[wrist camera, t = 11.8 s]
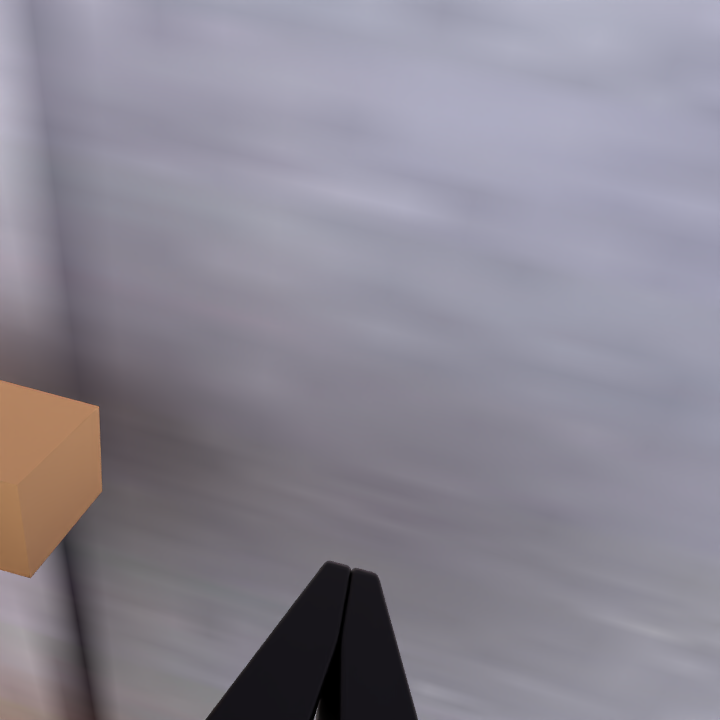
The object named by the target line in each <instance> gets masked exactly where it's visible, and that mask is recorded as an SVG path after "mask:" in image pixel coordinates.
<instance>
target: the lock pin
mask: <svg viewBox="0 0 720 720" xmlns="http://www.w3.org/2000/svg"><path fill="white" fill-rule="evenodd" d="M101 492H102V473H101V447H100V421H99V406H95V405H92V404H88V403H84V402H80V401H77V400H73V399H69V398H65V397H62V396H58V395H54V394H50V393H47V392H43V391H39V390H35V389H32V388H28V387H24V386H21V385H17V384H13V383H9V382H6V381H2V380H0V570H3V571H7V572H10V573H14V574H18V575H21V576H25V577H28V578H31V577H32V576H33V575H34V573H35V572H36V571H37V570H38V569H39V567H40V566H41V565H42V564H43V562H44V561H45V560H46V559H47V558H48V556H49V555H50V554H51V553H52V552H53V550H54V549H55V548H56V547H57V545H58V544H59V543H60V542H61V541H62V539H63V538H64V537H65V536H66V535H67V533H68V532H69V531H70V530H71V528H72V527H73V526H74V525H75V524H76V522H77V521H78V520H79V519H80V518H81V516H82V515H83V514H84V513H85V511H86V510H87V509H88V508H89V507H90V505H91V504H92V503H93V502H94V500H95V499H96V498H97V497H98V496H99V494H100V493H101Z"/></svg>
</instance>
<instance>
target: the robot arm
mask: <svg viewBox="0 0 720 720" xmlns="http://www.w3.org/2000/svg"><path fill="white" fill-rule="evenodd" d="M317 707H318V709H317ZM316 711H317V714H316ZM315 714H316V720H418V718H417V714H416V711H415V707H414V703H413V700H412V696H411V692H410V689H409V685H408V681H407V678H406V674H405V671H404V667H403V663H402V660H401V656H400V652H399V649H398V645H397V642H396V638H395V634H394V631H393V627H392V623H391V620H390V616H389V613H388V609H387V605H386V602H385V598H384V594H383V591H382V587H381V584H380V580H379V578H378V576H377V574H375V573H373V572H370V571H366V570H362V569H359V568H354V569H352V571H351V569H350V567H349V566H347V565H344V564H340V563H336V562H333V561H327V562H325V563H324V564H323V565H322V567H321V568H320V569H319V571H318V572H317V573H316V575H315V576H314V577H313V579H312V580H311V581H310V583H309V584H308V585H307V587H306V588H305V589H304V591H303V592H302V593H301V594H300V596H299V597H298V598H297V600H296V601H295V602H294V604H293V605H292V606H291V608H290V609H289V610H288V612H287V613H286V614H285V616H284V617H283V618H282V620H281V621H280V622H279V623H278V625H277V626H276V627H275V629H274V630H273V631H272V633H271V634H270V635H269V637H268V638H267V639H266V641H265V642H264V643H263V645H262V646H261V647H260V649H259V650H258V651H257V652H256V654H255V655H254V656H253V658H252V659H251V660H250V662H249V663H248V664H247V666H246V667H245V668H244V670H243V671H242V672H241V674H240V675H239V676H238V678H237V679H236V680H235V681H234V683H233V684H232V685H231V687H230V688H229V689H228V691H227V692H226V693H225V695H224V696H223V697H222V699H221V700H220V701H219V703H218V704H217V705H216V707H215V708H214V709H213V710H212V712H211V713H210V714H209V716H208V717H207V718H206V720H314V717H315Z"/></svg>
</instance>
